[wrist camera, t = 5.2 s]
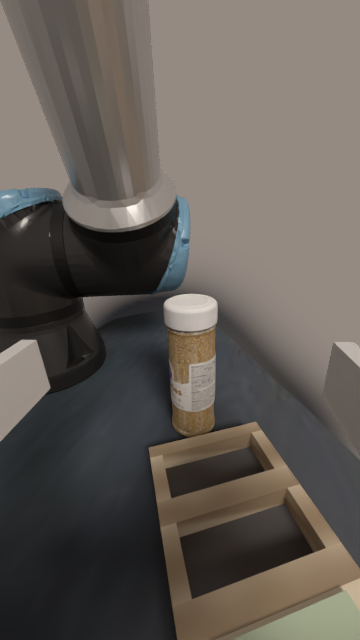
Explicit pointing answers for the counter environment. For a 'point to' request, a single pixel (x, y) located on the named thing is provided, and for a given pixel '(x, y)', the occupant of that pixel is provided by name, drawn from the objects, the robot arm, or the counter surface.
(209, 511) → the slotted wooden board
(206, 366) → the sprinkles bottle
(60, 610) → the counter surface
